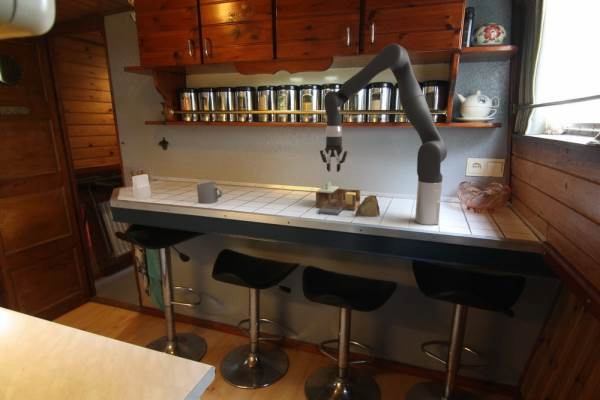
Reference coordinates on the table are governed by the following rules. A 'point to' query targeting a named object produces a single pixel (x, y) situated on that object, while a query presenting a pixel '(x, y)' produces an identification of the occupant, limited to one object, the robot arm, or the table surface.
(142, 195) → the base with upright slab
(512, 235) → the table surface
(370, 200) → the rock
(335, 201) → the wooden drawer box
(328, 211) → the dish
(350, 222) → the table surface
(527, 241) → the table surface
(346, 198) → the block
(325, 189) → the lid
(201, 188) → the coffee mug
